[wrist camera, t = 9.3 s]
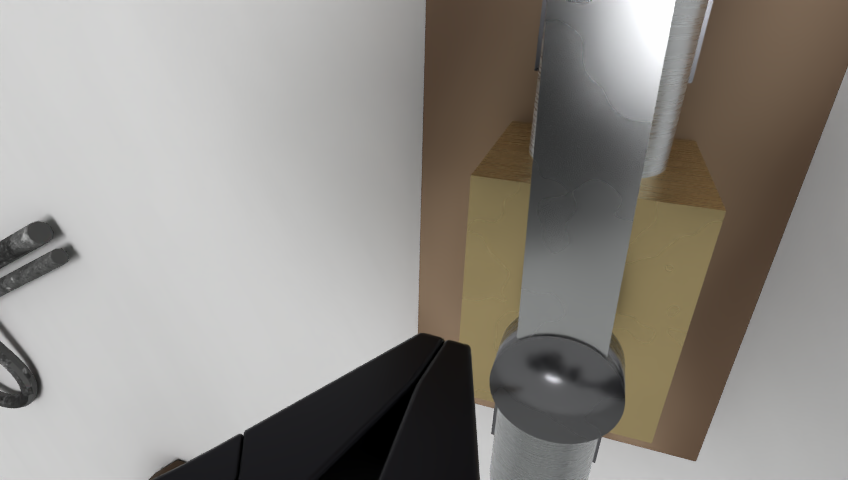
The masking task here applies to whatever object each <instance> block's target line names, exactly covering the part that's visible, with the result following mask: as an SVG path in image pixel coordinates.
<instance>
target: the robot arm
mask: <svg viewBox="0 0 848 480" xmlns="http://www.w3.org/2000/svg"><path fill="white" fill-rule="evenodd" d="M152 480H480V474H479V460H478V445H477V430H476V415H475V400H474V385H473V370H472V355H471V347H470V346H469V345H468V344H464V343H461V342H457V341H453V340H446V341H445V340H444V339H443V338H442V337H439V336H435V335H431V334H428V333H419V334H417V335H415V336H413V337H412V338H410V339H408V340H406V341H404V342H403V343H401V344H399V345H397V346H396V347H394V348H392V349H390V350H388V351H387V352H385V353H383V354H381V355H379V356H378V357H376V358H374V359H372V360H370V361H369V362H367V363H365V364H363V365H362V366H360V367H358V368H356V369H354V370H353V371H351V372H349V373H347V374H345V375H344V376H342V377H340V378H338V379H337V380H335V381H333V382H331V383H329V384H328V385H326V386H324V387H322V388H320V389H319V390H317V391H315V392H313V393H311V394H310V395H308V396H306V397H304V398H303V399H301V400H299V401H297V402H295V403H294V404H292V405H290V406H288V407H286V408H285V409H283V410H281V411H279V412H278V413H276V414H274V415H272V416H270V417H269V418H267V419H265V420H263V421H261V422H260V423H258V424H256V425H254V426H252V427H251V428H249V429H247V430H245V432H244V436H243V435H242V434H238V435H236V436H234V437H232V438H231V439H229V440H227V441H225V442H223V443H222V444H220V445H218V446H216V447H214V448H213V449H211V450H209V451H207V452H205V453H203V454H201V455H199V456H197V457H196V458H194V459H192V460H190V461H188V462H186V463H184V464H182V465H180V466H179V467H177V468H174V469H172V470H170V471H168V472H166V473H164V474H162V475H160V476H158V477H156V478H154V479H152Z"/></svg>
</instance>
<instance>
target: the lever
mask: <svg viewBox="0 0 848 480" xmlns="http://www.w3.org/2000/svg"><path fill="white" fill-rule="evenodd" d="M675 1H676V0H547V10H546V21H545V32H544V43H543V54H542V65H541V77H540V88H539V99H538V110H537V121H536V132H535V143H534V154H533V165H532V176H531V187H530V198H529V209H528V220H527V231H526V242H525V253H524V264H523V275H522V286H521V297H520V308H519V317H518V318H516V319H515V320H514V321H513V322H512V323H511V324H510V325H509V326H508V327H507V329H506V330H505V332H504V334H503V337H502V340H501V343H500V346H499V349H498V352H497V355H496V358H495V361H494V364H493V367H492V370H491V373H490V379H489V385H490V391H491V395H492V398H493V400H494V402H495V404H496V406H497V407H498V409H499V410H500V412H501V413H502V414H503V415H504V416H505V418H506V419H508V420H509V421H510V422H511V423H512V424H513V425H515V426H516V427H517V428H519V429H520V430H522V431H524V432H525V433H527V434H529V435H531V436H534V437H536V438H539V439H542V440H545V441H549V442H554V443H562V444H577V443H584V442H589V441H592V440H595V439H598V438H600V437H602V436H604V435H605V434H607V433H609V432H610V431H611V430H612V429H613V428H614V427H615V426H616V425H617V424H618V422H619V421H620V419H621V417H622V415H623V412H624V408H625V357H624V353H623V350H622V347H621V345H620V343H619V341H618V339H617V338H616V337H615V335H614V334H613V333H612V330H613V324H614V319H615V314H616V309H617V303H618V298H619V293H620V288H621V283H622V277H623V272H624V267H625V262H626V256H627V251H628V246H629V241H630V236H631V230H632V225H633V220H634V215H635V209H636V204H637V199H638V194H639V189H640V183H641V178H642V173H643V168H644V162H645V157H646V152H647V147H648V142H649V136H650V131H651V126H652V121H653V115H654V110H655V105H656V100H657V95H658V89H659V84H660V79H661V74H662V68H663V63H664V58H665V53H666V48H667V42H668V37H669V32H670V27H671V21H672V16H673V11H674V6H675Z"/></svg>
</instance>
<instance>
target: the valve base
mask: <svg viewBox="0 0 848 480" xmlns="http://www.w3.org/2000/svg"><path fill="white" fill-rule="evenodd" d="M546 10H547V0H426V25H425V66H424V107H423V147H422V188H421V229H420V270H419V311H418V334H419V333H428V334H431V335H435V336H439V337H442V338H443V339H444V340H445V341H446V340H453V341H457V342H461V343H464V344H468V345H469V346H470V347H471V355H472V370H473V385H474V400H475V403H476V404H479V405H483V406H487V407H491V408H494V415H493V424H492V432H491V434H493V435H494V441H493V449H492V457H491V465H490V480H588V477H589V473H590V469H591V465H592V462H594V463H595V461H596V457H597V453H598V449H599V446H600V442H601V438H602V437H605V438H609V439H612V440H616V441H620V442H624V443H628V444H631V445H635V446H639V447H643V448H647V449H650V450H654V451H658V452H662V453H666V454H669V455H673V456H677V457H681V458H685V459H688V460H692V461H696V460H697V457H698V455H699V452H700V449H701V447H702V444H703V441H704V439H705V436H706V434H707V431H708V428H709V426H710V423H711V421H712V418H713V415H714V413H715V410H716V408H717V405H718V402H719V400H720V397H721V395H722V392H723V389H724V387H725V384H726V382H727V379H728V376H729V374H730V371H731V369H732V366H733V363H734V361H735V358H736V356H737V353H738V350H739V348H740V345H741V343H742V340H743V337H744V335H745V332H746V330H747V327H748V324H749V322H750V319H751V317H752V314H753V311H754V309H755V306H756V304H757V301H758V298H759V296H760V293H761V291H762V288H763V285H764V283H765V280H766V278H767V275H768V272H769V270H770V267H771V265H772V262H773V259H774V257H775V254H776V252H777V249H778V246H779V244H780V241H781V239H782V236H783V233H784V231H785V228H786V226H787V223H788V220H789V218H790V215H791V212H792V210H793V207H794V205H795V202H796V199H797V197H798V194H799V192H800V189H801V186H802V184H803V181H804V179H805V176H806V173H807V171H808V168H809V166H810V163H811V160H812V158H813V155H814V153H815V150H816V147H817V145H818V142H819V140H820V137H821V134H822V132H823V129H824V127H825V124H826V121H827V119H828V116H829V114H830V111H831V108H832V106H833V103H834V101H835V98H836V95H837V93H838V90H839V88H840V85H841V82H842V80H843V77H844V75H845V72H846V69H847V67H848V0H676V1H675V6H674V11H673V16H672V21H671V27H670V32H669V37H668V42H667V48H666V53H665V58H664V63H663V68H662V74H661V79H660V84H659V89H658V95H657V100H656V105H655V110H654V115H653V121H652V126H651V131H650V136H649V142H648V147H647V152H646V157H645V162H644V168H643V173H642V178H641V183H640V189H639V194H638V199H637V204H636V209H635V215H634V220H633V225H632V230H631V236H630V241H629V246H628V251H627V256H626V262H625V267H624V272H623V277H622V283H621V288H620V293H619V298H618V303H617V309H616V314H615V319H614V324H613V330H612V333H613V334H614V335H615V337H616V338H617V339H618V341H619V343H620V345H621V347H622V350H623V353H624V357H625V408H624V412H623V415H622V417H621V419H620V421H619V422H618V424H617V425H616V426H615V427H614V428H613V429H612V430H611V431H610V432H609V433H607V434H605V435H604V436H602V437H600V438H598V439H595V440H592V441H589V442H584V443H577V444H562V443H554V442H549V441H545V440H542V439H539V438H536V437H534V436H531V435H529V434H527V433H525V432H524V431H522V430H520V429H519V428H517V427H516V426H515V425H513V424H512V423H511V422H510V421H509V420H508V419H506V418H505V416H504V415H503V414H502V413H501V412H500V410H499V409H498V407H497V406H496V404H495V402H494V400H493V398H492V395H491V391H490V385H489V379H490V373H491V370H492V367H493V364H494V361H495V358H496V355H497V352H498V349H499V346H500V343H501V340H502V337H503V334H504V332H505V330H506V329H507V327H508V326H509V325H510V324H511V323H512V322H513V321H514V320H515V319H516V318H518V317H519V308H520V297H521V286H522V275H523V264H524V253H525V242H526V231H527V220H528V209H529V198H530V187H531V176H532V165H533V154H534V143H535V132H536V121H537V110H538V99H539V88H540V77H541V65H542V54H543V43H544V32H545V21H546Z"/></svg>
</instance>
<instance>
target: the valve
mask: <svg viewBox="0 0 848 480" xmlns="http://www.w3.org/2000/svg"><path fill="white" fill-rule="evenodd" d="M52 238H53V231H52V229H51V227H50V226H49V225H47V224H46V223H44V222H39V221H37V222H34V223H31V224H29V225H27V226H26V227H24V228H22V229H21V230H19V231H17V232H16V233H14V234H12V235H10V236H9V237H7V238H5V239H4V240H2V241H0V268H2V267H4V266H5V265H7V264H9V263H11V262H13V261H15V260H16V259H18V258H20V257H22V256H24V255H26V254H27V253H29V252H31V251H33V250H35V249H37V248H38V247H40V246H42V245H44V244H46V243H48V242H49V241H50V240H51V239H52ZM68 259H69V256H68V254H67V252H66V251H64V250H63V249H54V250H53V251H51V252H49V253H47V254H45V255H43V256H41V257H39V258H38V259H36V260H34V261H32V262H30V263H28V264H26V265H24V266H23V267H21V268H19V269H17V270H15V271H13V272H11V273H9V274H8V275H6V276H4V277H2V278H0V296H2V295H4V294H6V293H8V292H10V291H12V290H14V289H16V288H18V287H20V286H22V285H24V284H26V283H28V282H30V281H32V280H34V279H36V278H38V277H40V276H42V275H44V274H46V273H48V272H50V271H52V270H54V269H56V268H58V267H60V266H62V265H64V264H65V263H66V262H68ZM0 364H1V365H3V366H4V367H5V368H6V369H7V370H8V371H9V372H10V373H11V374H12V376H13V377H14V378H15V379H16V381H17V383H18V384H19V386H20V389H21V394H20V395H12V394H8V393H4V392H1V391H0V406H2V407H6V408H20V407H24V406H27V405H29V404H30V403H31V402H33V401H34V399H35V398H36V396H37V383H36V380H35V378H34V376H33V374H32V372H31V371H30V370H29V369H28V367H27V366H26V365H25V364H24V363H23V362H22V361H21V360H20V359H19V358H18V357H17V356H16V355H15V354H14V353H13V352H12V351H11V350H9V349H8V348H7V347H6V346H5V345H4V344H3V343H2V342H1V341H0Z"/></svg>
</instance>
